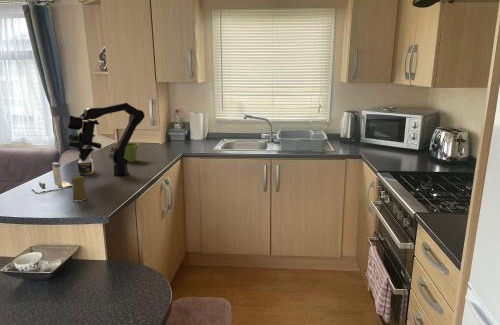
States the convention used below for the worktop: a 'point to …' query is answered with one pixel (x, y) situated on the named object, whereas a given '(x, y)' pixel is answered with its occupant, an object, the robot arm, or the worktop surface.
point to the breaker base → (64, 184)
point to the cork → (78, 188)
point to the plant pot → (131, 152)
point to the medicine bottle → (86, 165)
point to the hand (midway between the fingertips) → (83, 161)
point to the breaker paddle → (57, 173)
